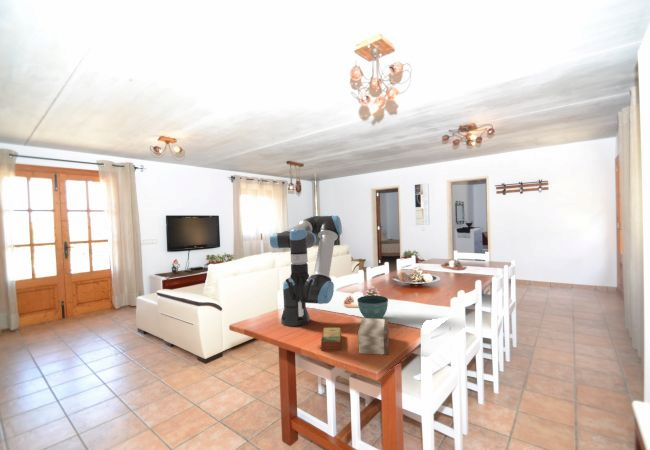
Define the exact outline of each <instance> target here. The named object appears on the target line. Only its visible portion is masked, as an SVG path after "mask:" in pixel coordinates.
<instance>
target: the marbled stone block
mask: <svg viewBox="0 0 650 450" xmlns="http://www.w3.org/2000/svg"><path fill="white" fill-rule="evenodd" d="M389 328H390V327H389V319H388V318H383V319H371V318H364V317H362V319H361V322H360V326H359V328H358V333H357V335H358V336H357V337H358V353H359V354H370V355H383V354H387V356H388V355H389V347H390V346H389V342H390V335H389V334H390V331H389Z"/></svg>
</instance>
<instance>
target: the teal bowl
mask: <svg viewBox="0 0 650 450" xmlns="http://www.w3.org/2000/svg"><path fill="white" fill-rule="evenodd" d="M388 302H389V299H388V297H385V296H382V295H374V294H373V295H372V294H371V295H363V296H360V297H358V298H357V305H358V309H359V312H360V313H361V315H362V317H363V318H371V319H384V318H383V317H384V316H385V315H386V313H387V309H388V306H389V305H388V304H389V303H388Z"/></svg>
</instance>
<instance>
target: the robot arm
mask: <svg viewBox="0 0 650 450" xmlns="http://www.w3.org/2000/svg"><path fill="white" fill-rule="evenodd" d="M342 233H343V227H342V221H341V217H340V216H339V215H332V214H331V215H316V216H315V215H314V216H311V217H307V218H305V219H303V220H301V221H299V222H298V223H297V224H296V225H294V226H292V227H290V228H288V229H286V230H284V231H282V232H272V233H271V235H270V237H269V244H270V246H271V248H273V249H278V250H279V249H290V263H291V264H290V272H291V273H290V275H289V277H287V278H286V279H285V281H283V284H282V292H283V311H282V313H281V314H282V315H281V317H280V319H281V320H280V323H281V324H282V325H283V326H287V327H298V326H304V325H306V324H308V323H309V322H310V314H309V311H308V309H307V306H306V305H307V304H317V305H322V304H324V305H326V304H330V302H331V301H332V300H333V296H334V292H335V285H334V282H333V281H332V278H331V277H330V274H331V273H330V272H331V268H332V267H331V266H332V261H333V259H332V258H333V255H334V254H333V253H334V247H335V241H336V240H338V237H339V236H340V235H342ZM317 236H318V238H319V243H318V248H317V254H316V258H315V264H314V268H313V269H314V270H313V274H309V272H308V271H309V264H308V262H309V261H308V249H310V248H312V247H314V246H315V245H316V243H317Z"/></svg>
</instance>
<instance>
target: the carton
mask: <svg viewBox="0 0 650 450" xmlns="http://www.w3.org/2000/svg"><path fill="white" fill-rule="evenodd" d="M341 329H342V328H341V327H323V329H322V333H321V334H322V335H321V341H320V351H321V352H323V351H324V352H326V351H329V352H330V351H337V352H338V351H341V350H342V348H341V345H342V342H341V341H342V335H341V334H342V333H341V332H342V330H341Z"/></svg>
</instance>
